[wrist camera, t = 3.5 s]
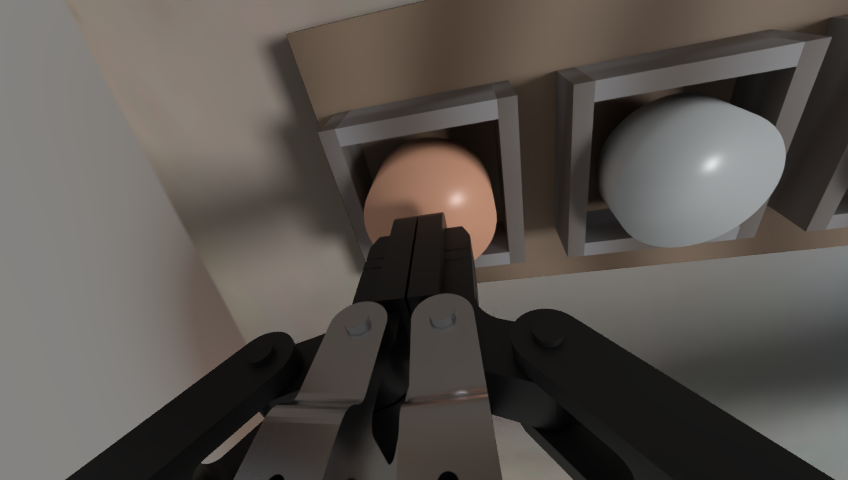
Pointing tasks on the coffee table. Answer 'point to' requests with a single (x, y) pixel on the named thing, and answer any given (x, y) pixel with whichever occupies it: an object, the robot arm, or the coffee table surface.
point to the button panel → (583, 111)
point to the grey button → (688, 169)
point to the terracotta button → (433, 190)
